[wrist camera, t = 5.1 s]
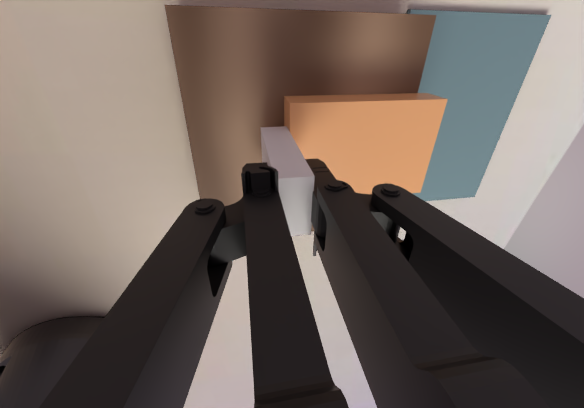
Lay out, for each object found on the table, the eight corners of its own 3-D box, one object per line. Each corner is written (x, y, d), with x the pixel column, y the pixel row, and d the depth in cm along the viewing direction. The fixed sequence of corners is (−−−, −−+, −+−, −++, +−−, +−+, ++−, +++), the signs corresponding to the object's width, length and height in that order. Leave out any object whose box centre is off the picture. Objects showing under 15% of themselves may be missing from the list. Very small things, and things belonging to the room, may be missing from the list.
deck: (211, 212, 23) (208, 241, 20) (178, 11, 16) (164, 4, 13) (365, 199, 26) (385, 224, 22) (399, 18, 18) (436, 15, 15)
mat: (370, 203, 26) (371, 205, 26) (407, 9, 18) (411, 9, 18) (471, 194, 28) (474, 196, 27) (545, 15, 20) (551, 15, 20)
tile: (284, 188, 19) (289, 203, 17) (284, 96, 16) (290, 103, 14) (405, 179, 20) (420, 192, 18) (426, 92, 17) (447, 99, 15)
